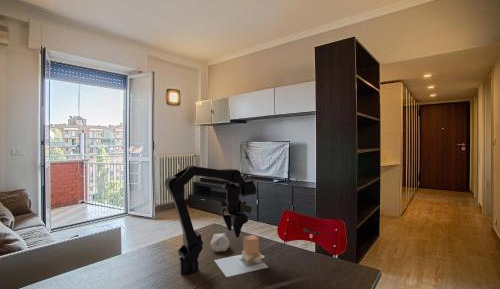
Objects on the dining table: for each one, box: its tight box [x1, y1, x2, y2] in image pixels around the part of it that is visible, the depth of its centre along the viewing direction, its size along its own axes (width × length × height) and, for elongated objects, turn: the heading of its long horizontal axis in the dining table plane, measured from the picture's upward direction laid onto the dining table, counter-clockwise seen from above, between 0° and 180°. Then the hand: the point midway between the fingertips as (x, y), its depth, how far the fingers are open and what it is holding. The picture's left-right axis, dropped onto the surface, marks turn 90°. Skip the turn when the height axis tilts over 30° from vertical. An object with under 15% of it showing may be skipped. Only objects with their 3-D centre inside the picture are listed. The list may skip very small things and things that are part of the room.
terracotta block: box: [242, 234, 260, 255], centre depth 112 cm, size 5×5×6 cm
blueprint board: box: [214, 254, 269, 278], centre depth 110 cm, size 18×16×1 cm
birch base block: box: [241, 250, 262, 265], centre depth 112 cm, size 6×6×4 cm
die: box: [210, 232, 231, 253], centre depth 125 cm, size 8×9×10 cm
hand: (233, 233), depth 114 cm, fingers open, 9 cm apart
